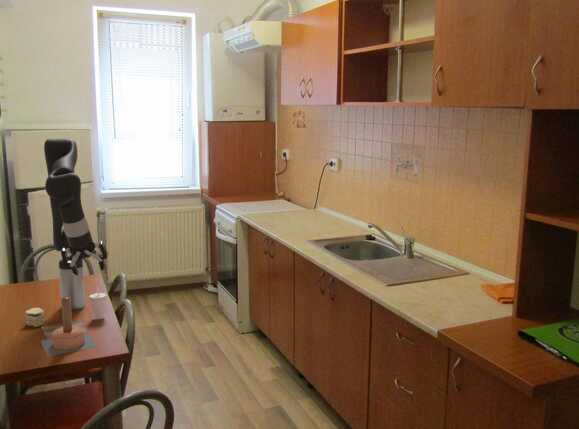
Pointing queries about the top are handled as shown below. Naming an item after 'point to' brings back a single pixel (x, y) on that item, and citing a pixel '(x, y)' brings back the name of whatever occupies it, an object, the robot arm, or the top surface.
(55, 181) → the robot arm
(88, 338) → the slate mat
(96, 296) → the smoothie
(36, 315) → the beige piece
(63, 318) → the peg on base plate
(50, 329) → the clear flat panel
